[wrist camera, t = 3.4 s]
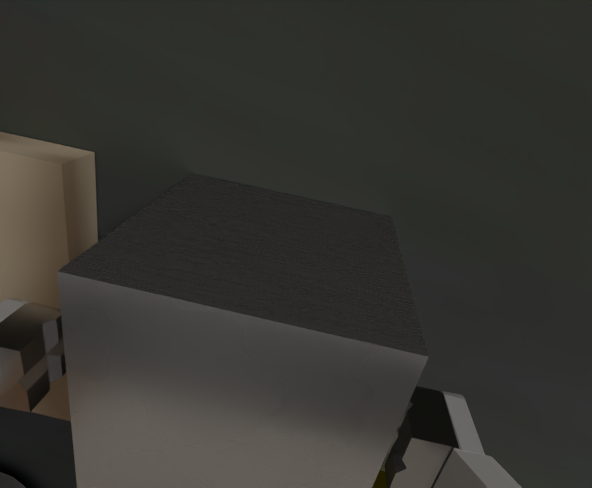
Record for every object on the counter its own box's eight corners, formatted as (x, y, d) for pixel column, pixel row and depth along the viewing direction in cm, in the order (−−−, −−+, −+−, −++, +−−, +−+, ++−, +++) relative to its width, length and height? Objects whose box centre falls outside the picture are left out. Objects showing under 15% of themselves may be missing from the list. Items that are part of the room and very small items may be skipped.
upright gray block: (391, 217, 12) (428, 357, 6) (343, 371, 14) (339, 563, 9) (191, 173, 12) (56, 271, 6) (180, 332, 14) (78, 498, 9)
